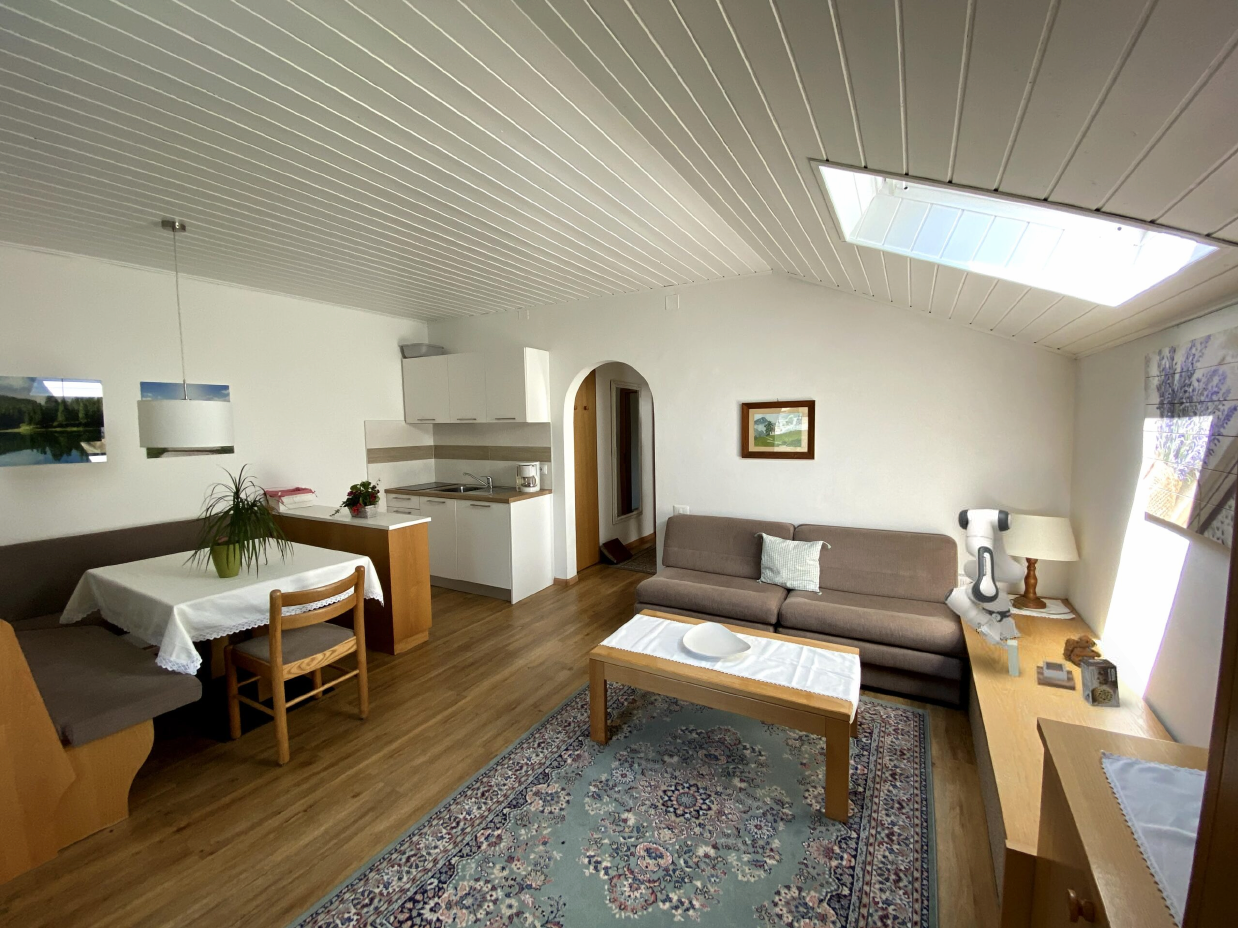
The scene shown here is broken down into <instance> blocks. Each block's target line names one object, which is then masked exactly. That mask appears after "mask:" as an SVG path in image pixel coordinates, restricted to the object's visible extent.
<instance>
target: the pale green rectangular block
mask: <svg viewBox="0 0 1238 928" xmlns="http://www.w3.org/2000/svg"><path fill="white" fill-rule="evenodd" d="M1006 645H1008V649H1007V658H1008V659H1007V660H1008V661H1007V662H1008V672H1009V673H1008V674H1009V676H1012V677H1020V664H1019V650H1018V649H1019V648H1018V647H1019V646H1018V640H1014V639H1007V642H1006Z"/></svg>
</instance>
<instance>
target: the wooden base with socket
mask: <svg viewBox="0 0 1238 928" xmlns="http://www.w3.org/2000/svg"><path fill="white" fill-rule="evenodd" d="M1066 667H1067V666H1066V663H1063V662H1062V663H1061V662H1057V661H1050V660H1049V661H1047V660H1042V666H1041V665H1036V675H1037V678H1036V679H1037V685H1038V686H1046V687H1052V688H1058V689H1063V690H1070V691H1076V683H1075V679H1074V674H1073V670H1069V669H1067V668H1066Z"/></svg>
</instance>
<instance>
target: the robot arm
mask: <svg viewBox="0 0 1238 928" xmlns="http://www.w3.org/2000/svg"><path fill="white" fill-rule="evenodd" d="M957 522H958V525H959V528H960V529H962V530H965V531H966V532H965V540H964V541H965V542H964V544H965V550H966V553H968V555H970V556H971V557H973V558H974V559H971V560H967V561H965V563H964V565H963V573H964V575H965V576H966V577H967V578H968V579H969V580H971V581H972V583H968V584H966V585H963V586H960V587H952V588H950V589H949V590H948V591H947V593H946V594H945V596H944V602H945V604H946V605H947V606H948V607H949V608H950V609H951V610H952V611H953V612H954V613H955V614H957V615H958V616H960V617H961V618H963V620H964V621H965V622H966V623H967V624H968V625H969V626H970V627H972V628H973V629H974V630H976V629H979V633H978V634H980V635H981V636H982V637H983V638H984V639H985V640H986V641H987V642H988V643H989V644H990V645H992V646H996V645H997V646H999V647H1001V648H1002V649H1003V650H1008V645H1007V639H1009V640H1011V639H1014V637H1016V638H1022V637H1021V636H1022V635H1021V634H1020V632H1019V630H1018V629H1017V626H1016V624H1015V620H1014V619H1013V618H1012V617H1011V609H1010V603H1009V594H1008V593H1007V592H1006V591H1005V590H1004V589H1003V588H1000V587H998V585H997V583H1003V584H1014V583H1015V584H1018V583H1021V582H1022V581H1023V580H1024V578H1025V576H1026V571H1025V569H1024V567H1023V566H1022V565H1021V564H1020V563H1018V562H1017V561H1015V560H1013V558H1012V557H1010V555H1009V554H1008V553H1007V551H1006V549H1005V543H1004V534H1003V532H1007V531H1009V530H1010V529H1011V527H1012V524H1013V517H1012V515H1011V513H1009V511H1008V510H1007V511H1006V510H1003V509H999V510H998V509H990V508H981V509H980V508H976V509H967V508H966V509H962V510H961V511H960V512H959V513H958V517H957ZM981 605H982V607H980V606H981ZM1000 638H1002V639H1000ZM1010 638H1011V639H1010ZM1002 640H1003V641H1004V642H1003V641H1002ZM1005 642H1006V643H1005Z"/></svg>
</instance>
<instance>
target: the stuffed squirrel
mask: <svg viewBox="0 0 1238 928" xmlns="http://www.w3.org/2000/svg"><path fill="white" fill-rule="evenodd" d="M1075 638H1076V639H1075ZM1075 638H1072V637H1069V638H1066V640H1065V642H1064V647H1063V653H1062V654H1061V655H1062V656H1063V657H1064V659H1065V660H1067V661H1068V662H1073V664H1075V665H1076V667H1078V668H1080V669H1081V665H1080V659H1096V658H1097V659H1101V658H1102V654H1101V653H1100V652H1099V651H1096V650H1095V649H1093V648H1095V647H1097V646H1098V644H1097V643H1096V642H1095V640H1093V639H1092V638H1091V637H1089V635H1088V634H1083V635H1079V636H1076V637H1075Z"/></svg>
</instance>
